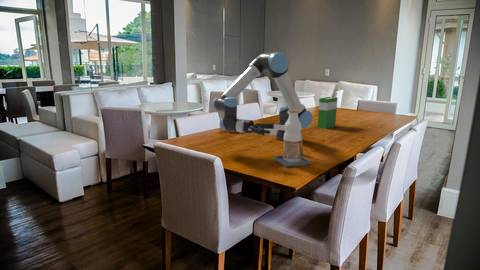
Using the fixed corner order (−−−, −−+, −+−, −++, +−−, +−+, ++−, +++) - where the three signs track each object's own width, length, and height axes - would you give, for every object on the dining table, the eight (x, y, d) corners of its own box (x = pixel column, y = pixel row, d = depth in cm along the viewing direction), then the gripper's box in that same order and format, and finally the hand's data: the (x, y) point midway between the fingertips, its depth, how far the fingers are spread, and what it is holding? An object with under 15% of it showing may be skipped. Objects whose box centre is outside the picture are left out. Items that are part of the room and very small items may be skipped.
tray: (297, 157, 187) (297, 153, 187) (310, 164, 174) (310, 161, 173) (273, 159, 182) (273, 156, 182) (285, 167, 169) (285, 163, 169)
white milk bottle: (279, 159, 180) (281, 109, 174) (293, 157, 184) (295, 108, 178) (289, 164, 172) (292, 111, 165) (303, 162, 176) (306, 110, 170)
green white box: (327, 124, 282) (329, 96, 276) (335, 125, 277) (337, 97, 272) (317, 127, 269) (319, 98, 263) (325, 129, 264) (327, 99, 259)
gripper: (254, 128, 198) (287, 132, 189) (235, 137, 176) (272, 141, 167) (254, 116, 196) (288, 119, 187) (235, 123, 175) (272, 127, 165)
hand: (280, 130), depth 177 cm, fingers open, 13 cm apart
